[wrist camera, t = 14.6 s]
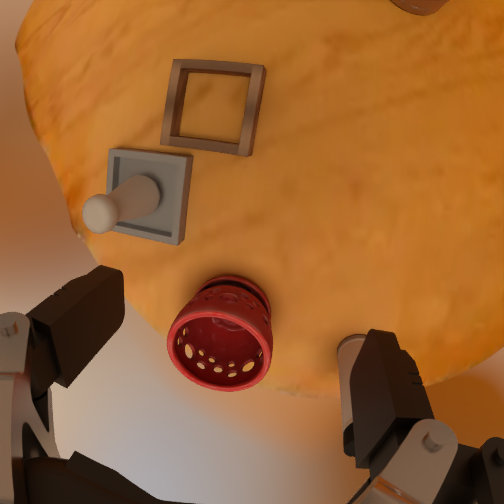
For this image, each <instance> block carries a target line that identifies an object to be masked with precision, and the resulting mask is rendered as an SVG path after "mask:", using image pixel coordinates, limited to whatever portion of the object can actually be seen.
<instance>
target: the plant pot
mask: <svg viewBox="0 0 504 504" xmlns="http://www.w3.org/2000/svg"><path fill="white" fill-rule="evenodd" d="M270 319H271V310H270V305H269V302H268V300H267V298H266V296H265V295H264V293H263V292H262V291H261V290H260V289H259V288H258V287H257V286H255V285H254V284H253V283H251V282H249V281H247V280H245V279H242V278H239V277H233V276H222V277H217V278H214V279H211V280H209V281H207V282H206V283H204V284H203V285H202V286H201V287H200V288H199V289H198V291H197V292H196V294H195V296H194V297H193V299H192V300H191V301H189V302H188V303H187V304H186V306H185V307H184V308H183V309H182V310H181V311H180V313H179V314H178V315H177V317H176V318H175V320H174V322H173V324H172V326H171V328H170V330H169V333H168V337H167V349H168V353H169V356H170V358H171V360H172V362H173V363H174V365H175V366H176V368H177V369H178V370H179V371H180V372H181V373H182V374H183V375H184V376H185V377H187V378H188V379H190V380H191V381H193V382H195V383H196V384H198V385H201V386H203V387H206V388H209V389H213V390H217V391H226V392H233V391H240V390H244V389H247V388H250V387H252V386H254V385H256V384H257V383H258V382H260V381H261V380H262V379H263V378H264V376H265V375H266V373H267V372H268V370H269V368H270V364H271V358H272V351H273V336H272V331H271V322H270ZM184 328H185V335H183V330H184ZM178 338H179V345H178ZM186 344H188V345H189V346H190V347H191V349H192V353H193V355H192V358H188V357H187V356H186V354H185V345H186ZM199 350H201V351H202V352H203V354H204V355H203V356H201V355H200V354H199ZM261 352H262V354H261V356H260V357H259V355H260V353H261ZM209 358H213V359H214V360H215V362H214V363H212V362H210V361H209ZM249 362H255V363H254V366H253V368H252V369H251V370H249V371H247V372H244V371H242V369H243V367H244V366H245V365H246V364H247V363H249ZM197 363H202V364H203V365H204V367H205V369H201V368H200V367H198V366H197ZM229 364H235V365H234V366H233V367H229V366H228V365H229ZM215 367H219V368H222V372H215V371H214V368H215ZM230 373H237V374H236V376H233V377H228V375H229V374H230Z"/></svg>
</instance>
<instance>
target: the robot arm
mask: <svg viewBox="0 0 504 504" xmlns="http://www.w3.org/2000/svg"><path fill="white" fill-rule="evenodd" d="M391 1H392V2H393V3H395V4H396V5H397V6H398V7H400V8H402V9H403V10H405V11H408V12H410V13H413V14H417V15H429V14H432V13H434V12H436V11H437V10H438V9H439V8H441V7H442V6H443V5H444V4H445V3H446V2H448V1H449V0H391ZM124 315H125V304H124V278H123V273H122V272H121V271H120V270H117V269H114V268H110V267H107V266H103V265H99V266H98V267H96V268H95V269H94V270H92V271H91V272H89V273H88V274H87V275H84V276H81V277H78V278H76V279H73V280H71V281H69V282H68V283H67V284H66V285H64V286H63V287H62V289H59V290H57V291H56V292H55V293H54V295H50V296H49V297H48V298H47V299H45V300H44V301H43V302H41V303H40V304H39V305H37V306H36V307H35V308H33V309H32V310H31V311H30V312H29V313H27V314H26V315H24V314H22V313H18V312H7V313H3V314H0V504H194V503H181V502H171V501H163V500H159V499H157V498H155V497H153V496H151V495H150V494H148V493H147V492H145V491H144V490H142V489H141V488H139V487H138V486H136V485H135V484H133V483H132V482H131V481H129V480H128V479H126V478H125V477H124V476H122V475H121V474H119V473H118V472H117V471H115V470H113V469H111V468H109V467H107V466H104V465H102V464H100V463H98V462H96V461H94V460H92V459H90V458H88V457H86V456H84V455H82V454H80V453H78V452H77V451H74V453H73V455H72V456H71V457H70V459H69V460H68V459H62V458H60V455H59V452H58V450H57V446H56V443H55V437H54V425H53V410H52V392H51V389H50V386H51V385H52V384H53V382H56V383H58V384H60V385H61V386H63V387H65V388H68V387H69V386H70V384H71V383H72V382H73V381H74V379H75V378H76V377H77V376H78V375H79V374H80V373H81V371H82V370H83V369H84V368H85V367H86V366H87V364H88V363H89V362H90V361H91V360H92V359H93V357H94V356H95V355H96V354H97V353H98V352H99V350H100V349H101V348H102V347H103V346H104V345H105V343H106V342H107V341H108V340H109V339H110V338H111V337H112V336H113V334H114V333H115V332H116V331H117V330H118V329H119V328H120V326H121V324H122V322H123V319H124ZM422 384H423V382H422V379H421V377H420V376H419V371H418V368H417V366H416V363H415V361H414V360H413V359H412V357H411V356H410V355H409V354H408V353H407V352H406V350H401V349H400V347H399V344H398V341H397V338H396V335H395V334H394V333H393V332H388V331H382V330H376V329H371V330H369V332H368V334H367V336H366V338H365V340H364V343H363V345H362V347H361V349H360V352H359V354H358V356H357V358H356V360H355V363H354V365H353V367H352V370H351V374H350V381H349V386H350V395H351V406H352V417H353V429H354V443H355V460H356V468H364V469H370V477H369V478H368V479H367V480H366V481H365V482H364V483H363V485H362V486H361V487H360V488H359V489H358V490H357V492H356V493H355V494H354V495H353V496H352V497H351V498H350V499H349V501H348V502H347V503H346V504H477V503H478V504H504V439H502V438H498V437H493V438H490V439H488V440H487V441H486V442H485V443H484V444H483V445H482V446H481V447H480V448H479V449H478V448H474V447H470V446H466V445H462V444H459V443H458V442H457V438H456V436H455V434H454V432H453V431H452V430H451V429H450V428H449V427H448V426H447V425H445V424H444V423H442V422H440V421H438V420H435V418H434V415H433V412H432V409H431V406H430V403H429V400H428V397H427V394H426V391H425V388H424V386H422Z"/></svg>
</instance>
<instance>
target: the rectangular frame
mask: <svg viewBox="0 0 504 504" xmlns="http://www.w3.org/2000/svg"><path fill="white" fill-rule="evenodd" d="M189 72H198V73H213V74H225V75H236V76H245V77H251V79H250V85H249V90H248V96H247V102H246V108H245V113H244V119H243V125H242V131H241V137H240V143H239V144H236V143H230V142H223V141H216V140H209V139H201V138H193V137H184V136H179V130H180V123H181V116H182V109H183V103H184V97H185V91H186V85H187V79H188V74H189ZM265 76H266V69H265V67H264V66H263V65H257V64H248V63H238V62H227V61H213V60H191V59H173V64H172V69H171V74H170V80H169V86H168V92H167V98H166V104H165V111H164V118H163V125H162V133H161V141H160V145H169V146H177V147H185V148H193V149H200V150H208V151H214V152H221V153H228V154H234V155H240V156H246V157H248V156H251V155H252V150H253V144H254V139H255V133H256V127H257V121H258V115H259V110H260V104H261V98H262V93H263V87H264V81H265Z"/></svg>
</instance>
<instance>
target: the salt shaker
mask: <svg viewBox="0 0 504 504" xmlns="http://www.w3.org/2000/svg"><path fill="white" fill-rule="evenodd" d="M160 196H161V194H160V191H159V188H158V186H157V183H156V182H155V181H154V180H152V179H150V178H149V177H147V176H143V175H135V176H133V177H131V178H129V179H127V180H126V181H125V182H123V183H122V184H121V185H120V186H118V187H117V188H116V189H114V190H113V191H112V192H111V193H109V194H108V195H104V194H97V195H94V196H93V197H91V198H89V199H88V200H87V201H86V202H85V204H84V205H83V211H82V215H83V220H84V223H85V224H86V226H87V228H88V229H89V230H91V231H92V232H93V233H97V234H102V233H105V232H108V231H110V230H112V229H113V228H114V226H115V225H116V223H117V222H119V221H125V220H131V219H137V218H143V217H146V216H148V215H151V214H152V213H153V212H154V211H155V209H156V208H157V207H158V204H159V200H160Z"/></svg>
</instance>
